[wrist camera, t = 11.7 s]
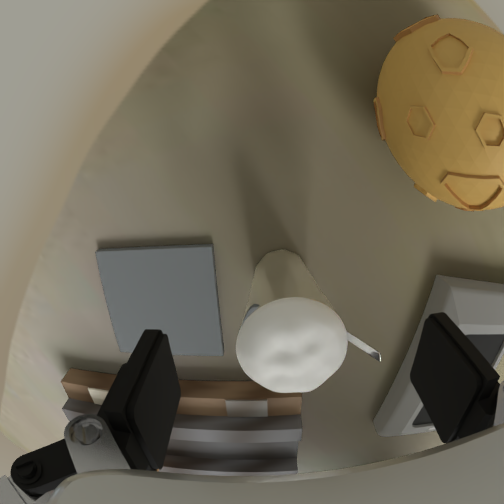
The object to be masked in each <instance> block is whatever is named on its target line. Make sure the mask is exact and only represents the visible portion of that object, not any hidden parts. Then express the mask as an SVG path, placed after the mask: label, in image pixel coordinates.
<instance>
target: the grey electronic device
mask: <svg viewBox="0 0 504 504" xmlns="http://www.w3.org/2000/svg"><path fill="white" fill-rule="evenodd" d="M440 312H444V313H446V314H447V315H448V317H449V318H450V319H451V320H452V321H453V322H454V323H455V324H456V325H457V326H458V327H459V329H460V330H461V331H462V332H463V333H464V334H465V335H466V336H467V338H468V339H469V340H470V341H471V342H472V343H473V345H474V346H475V347H476V348H477V349H478V350H479V352H480V353H481V354H482V355H483V356H484V357H485V359H486V360H487V361H488V362H489V363H490V365H491V366H492V367H493V368H494V370H495V369H496V367H497V365H498V364H499V362H500V360H501V358H502V356H503V354H504V284H500V283H493V282H486V281H478V280H471V279H464V278H457V277H450V276H443V275H436V278H435V281H434V284H433V287H432V290H431V293H430V296H429V299H428V302H427V304H426V307H425V310H424V313H423V315H422V318H421V320H420V323H419V326H418V328H417V331H416V333H415V336H414V338H413V340H412V343H411V345H410V347H409V350H408V352H407V354H406V357H405V359H404V361H403V363H402V365H401V368H400V370H399V372H398V374H397V376H396V378H395V380H394V382H393V384H392V386H391V388H390V390H389V392H388V394H387V396H386V398H385V400H384V402H383V404H382V406H381V407H380V409H379V411H378V413H377V415H376V417H375V418H374V420H373V423H374V426H375V429H376V432H377V434H378V435H379V436H383V437H390V436H400V435H408V434H416V433H423V432H430V431H436V429H435V427H434V425H433V423H432V421H431V419H430V417H429V415H428V413H427V411H426V409H425V407H424V405H423V403H422V401H421V399H420V397H419V396H418V394H417V392H416V390H415V388H414V386H413V384H412V383H411V380H410V371H411V368H412V365H413V362H414V358H415V355H416V352H417V348H418V344H419V341H420V337H421V333H422V329H423V325H424V322H425V320H426V319H427V318H428V316H429V315H430V314H433V313H440Z"/></svg>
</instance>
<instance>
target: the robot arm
mask: <svg viewBox="0 0 504 504" xmlns="http://www.w3.org/2000/svg"><path fill="white" fill-rule="evenodd" d="M499 377H500V376H499V375H498V373H497V372H496V371H495V370H494V368H493V367H492V366H491V365H490V363H489V362H488V361H487V360H486V359H485V357H484V356H483V355H482V354H481V353H480V352H479V350H478V349H477V348H476V347H475V346H474V345H473V343H472V342H471V341H470V340H469V339H468V338H467V336H466V335H465V334H464V333H463V332H462V331H461V330H460V329H459V327H458V326H457V325H456V324H455V323H454V322H453V321H452V320H451V319H450V318H449V317H448V315H447V314H446V313H444V312H440V313H433V314H430V315H429V316H428V318H427V319H426V320H425V322H424V325H423V329H422V333H421V337H420V341H419V344H418V348H417V352H416V355H415V358H414V362H413V365H412V368H411V371H410V380H411V383H412V384H413V386H414V388H415V390H416V392H417V394H418V396H419V397H420V399H421V401H422V403H423V405H424V407H425V409H426V411H427V413H428V415H429V417H430V419H431V421H432V423H433V425H434V427H435V429H436V431H437V433H438V435H439V437H440V439H441V441H442V442H443V443H446V444H444V445H441V446H437V447H434V448H431V449H428V450H424V451H421V452H417V453H414V454H410V455H406V456H402V457H398V458H394V459H389V460H385V461H380V462H376V463H371V464H366V465H360V466H355V467H349V468H342V469H335V470H328V471H320V472H311V473H300V474H287V475H269V476H217V475H195V474H181V473H170V472H159V471H157V469H160V470H161V469H162V468H163V464H164V460H165V456H166V452H167V448H168V444H169V440H170V436H171V432H172V428H173V424H174V420H175V417H176V413H177V409H178V405H179V401H180V397H181V389H180V384H179V381H178V377H177V373H176V369H175V365H174V361H173V356H172V352H171V348H170V344H169V339H168V335H167V334H163V332H162V330H160V329H145V330H144V332H143V333H142V335H141V337H140V339H139V341H138V343H137V345H136V347H135V349H134V350H133V352H132V354H131V356H130V358H129V360H128V362H127V364H126V363H125V364H123V365H122V367H121V368H120V370H119V372H118V374H117V376H116V378H115V380H114V382H113V384H112V386H111V387H110V389H109V391H108V393H107V395H106V397H105V399H104V401H103V403H102V405H101V407H100V409H99V411H98V413H97V415H93V414H84V415H80V416H77V417H75V418H73V419H72V420H71V421H70V422H69V423H68V424H67V426H66V427H65V431H64V437H65V439H62V440H60V441H58V442H55V443H53V444H50V445H48V446H45V447H43V448H40V449H38V450H35V451H33V452H30V453H27V454H25V455H22V456H20V457H19V458H17V459H16V460H15V462H14V463H13V465H12V467H11V476H9V477H7V476H5V475H4V476H3V477H1V478H0V504H504V381H503V382H502V383H501V384H499V383H498V379H499Z"/></svg>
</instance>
